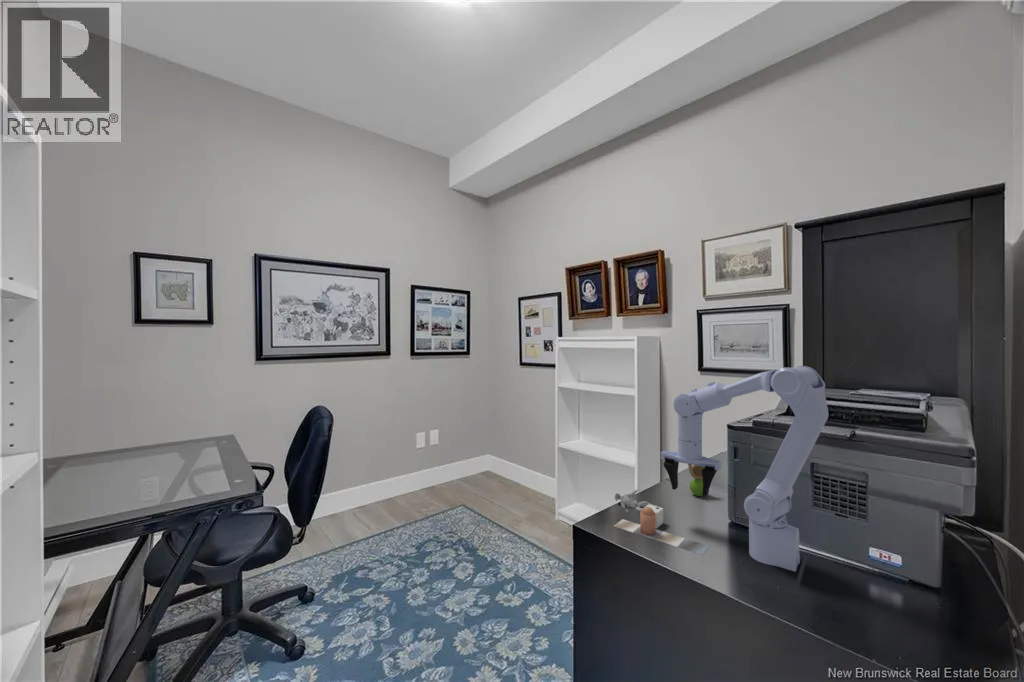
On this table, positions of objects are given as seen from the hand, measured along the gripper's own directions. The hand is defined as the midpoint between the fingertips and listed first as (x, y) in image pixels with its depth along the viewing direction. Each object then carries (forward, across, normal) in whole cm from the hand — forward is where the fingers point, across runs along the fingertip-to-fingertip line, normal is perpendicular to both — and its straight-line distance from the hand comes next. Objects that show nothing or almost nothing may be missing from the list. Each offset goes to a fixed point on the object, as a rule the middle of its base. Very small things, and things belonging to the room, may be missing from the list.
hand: (689, 491), depth 106 cm
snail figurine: (+10, +6, -26) cm, 29 cm away
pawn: (+9, +7, +10) cm, 15 cm away
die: (+9, +8, +4) cm, 13 cm away
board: (+10, +4, +8) cm, 13 cm away
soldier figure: (+10, +16, -2) cm, 19 cm away
